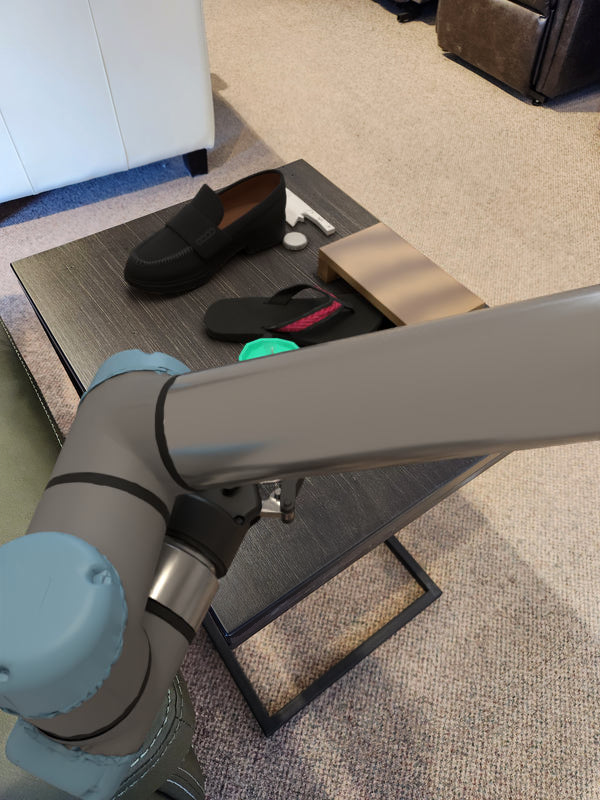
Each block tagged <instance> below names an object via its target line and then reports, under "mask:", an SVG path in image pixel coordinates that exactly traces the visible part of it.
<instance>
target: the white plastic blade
mask: <svg viewBox="0 0 600 800" xmlns="http://www.w3.org/2000/svg"><path fill="white" fill-rule="evenodd" d="M286 195H287V202H286V209H285V211H286V223H288V224H289V225H290V226H291V227H292V228H294V226H296V224H297V223H298V222H301V223H304V221H305V218H306V219H308V220H309V221H310V222H312V223H313V224H315V225H316V226H317V227H318V228H319V229H320V230H321V231H322V232H323V233H324V234H325V235H326V236H330V235H332V234H334V233H336V227H335V226H333V225H332V224H331V223H329V221H327V220H326V219H325V218H324V217H322V216H321V215H320V214H319V213H318V212H316V211H315V210H314V209H313V208H312V207H311V206H310V205H308V203H306V202H304V201H303V199H301V198H300V197H299V196H298V195H296V194H295V193H294V192H292V191H291V190H290V189H289V188H287V187H286Z"/></svg>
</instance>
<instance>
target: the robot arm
mask: <svg viewBox="0 0 600 800" xmlns="http://www.w3.org/2000/svg"><path fill="white" fill-rule="evenodd" d="M262 338H273V336H272V334H269V333H266V332H265V334H264V335H263V337H262ZM598 441H600V283H596V284H592V285H587V286H583V287H578V288H577V287H576V288H573V289H569V290H564V291H559V292H555V293H550V294H546V295H545V294H544V295H541V296H536V297H531V298H527V299H522V300H518V301H513V302H507V303H504V304H499V305H495V306H494V305H493V306H490V307H484V308H483V309H480V310H475V311H470V312H466V313H461V314H456V315H452V316H447V317H442V318H438V319H433V320H428V321H424V322H419V323H415V324H410V325H405V326H401V327H398V326H396V327H391V328H388V329H387V328H386V329H383V330H379V331H378V330H376V331H375V332H373V333H368V334H363V335H359V336H354V337H349V338H345V339H340V340H335V341H331V342H326V343H321V344H317V345H312V346H303V347H299V348H298V349H293V350H289V351H284V352H279V353H275V354H270V355H265V356H261V357H256V358H252V359H247V360H242V361H239V359H238V360H237V361H232V362H228V363H224V364H219V365H214V366H210V367H205V368H201V369H196V370H191V369H190V367H188V366H187V365H186V364H185V363H183V362H182V361H181V360H179V359H177V358H175V357H173V356H171V355H170V354H167V353H164V352H162V351H157V350H156V351H153V352H152V353H149V352H144V351H143V350H141V349H139V348H133V349H126V350H122V351H119V352H116V353H114V354H112V355H111V356H109V357H108V358H107V359H105V360H104V361H103V362H102V363H101V365H100V366H99V367H98V369H97V370H96V373H95V374H94V377H93V379H92V381H91V382H90V384H89V386H88V388H87V390H86V391H84V392H83V393H82V395H81V398H80V399H79V402H78V405H77V408H76V412H75V415H74V418H73V420H72V423H71V424H70V428H69V430H68V432H67V435H66V437H65V440H64V442H63V444H62V447H61V449H60V452H59V454H58V457H57V459H56V462H55V464H54V467H53V469H52V471H51V475H50V477H49V478H48V481H47V483H46V486H45V488H44V490H43V492H42V495H41V496H40V499H39V501H38V503H37V506H36V508H35V509H34V513H33V515H32V517H31V519H30V521H29V524H28V526H27V529H26V531H25V533H24V535H22V536H18V537H16V538H14V539H11V540H9V541H6V542H5V543H3V544H1V545H0V710H1V711H2V712H4V713H6V714H9V715H11V716H15V717H17V720H16V722H15V724H14V725H13V728H12V729H11V732H10V733H9V735H8V737H7V739H6V742H5V748H4V753H5V757H6V759H7V760H8V761H9V762H10V764H12V765H14V766H16V767H17V768H19V769H21V770H22V771H24V772H25V773H27V774H30V775H31V776H34V777H35V778H38V779H40V780H41V781H44V782H45V783H46V784H49V785H52V786H53V787H54V788H57V789H59V790H61V791H63V792H65V793H68V794H69V795H70V796H71V795H72V796H73V797H77V798H78V799H81V800H112V798H113V797H114V796H115V795H116V793H117V792H118V790H119V788H120V786H121V784H122V782H123V780H124V779H125V778H126V776H127V774H128V772H129V770H130V768H131V767H132V765H133V763H134V762H135V760H136V759H137V758H139V756H140V755H141V753H142V751H143V749H144V745H145V740H146V738H147V735H148V734H149V732H150V729H151V727H152V725H153V723H154V722H155V719H156V717H157V715H158V713H159V711H160V709H161V706H162V705H163V703H164V700H165V698H166V696H167V694H168V693H169V691H170V688H171V686H172V684H173V683H174V681H175V678H176V676H177V674H178V671H179V670H180V668H181V666H182V664H183V661H184V660H185V658H186V655H187V653H188V651H189V649H190V646H191V645H192V643H193V642H194V639H195V636H196V635H197V632H198V631H199V628H200V627H201V625H202V623H203V621H204V619H205V617H206V615H207V614H208V612H209V610H210V607H211V605H212V604H213V601H214V599H215V597H216V595H217V594H218V592H219V590H220V583H219V582H220V581H219V580H221V579H223V578H224V577H226V575H227V574H228V572H229V570H230V568H231V566H232V564H233V562H234V560H235V558H236V557H237V554H238V552H239V549H240V548H241V546H242V543H243V542H244V539H245V537H246V535H247V533H248V532H249V530H250V529H251V528H252V527H253V526H255V525H256V524H258V523H259V522H260V521H261V519H262V518H271V519H280V522H281V523H282V524H283V525H291V524H293V522H295V519H296V499H297V498H298V495H299V493H300V491H301V489H302V487H303V484H304V482H305V479H308V478H316V477H323V476H324V477H325V476H331V475H338V474H346V473H354V472H361V471H362V472H363V471H370V470H371V471H372V470H377V469H378V470H379V469H386V468H393V467H400V466H409V465H417V464H425V463H433V462H440V461H441V462H442V461H447V460H457V459H464V458H472V457H481V456H488V455H489V456H490V455H496V454H504V453H512V452H519V451H526V450H527V451H528V450H535V449H536V450H537V449H543V448H550V447H558V446H559V447H560V446H567V445H574V444H581V443H582V444H583V443H590V442H591V443H592V442H598ZM276 482H281V484H280V488H275V489H274V490H273V491H271V493H270V496H269V498H267V499H264V500H262V496H261V491H260V488H259V486H260V484H267V483H276Z"/></svg>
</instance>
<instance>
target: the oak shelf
mask: <svg viewBox="0 0 600 800" xmlns="http://www.w3.org/2000/svg"><path fill="white" fill-rule="evenodd" d="M317 276H318V277H319V278H320V279H321V280H322V281H323V282H324V283H326V284H328V283H331V282H332V281H335V280H338V279H339V278H342V279H343V280H344V281H346V282H347V283H348V284H349V285H350V286H351V287H353V288H354V289H355V290H356V291H357V292H358V294H362V295H363V296H364V297H365V298H366V299H367V300H368V301H370V302H371V303H372V304H373V305H374V306H375V307H376V308H378V309H379V310H380V311H381V312H382V313H383V314H384V317H387V319H388V320H390V322H392V323H393V324H394V325H395V326H396V327H401V326H405V325H410V324H415V323H419V322H424V321H428V320H433V319H438V318H442V317H447V316H452V315H456V314H461V313H466V312H470V311H475V310H480V309H484V308H485V305H486V301H485V300H483V299H482V298H481V297H480V296H478V294H475V292H473V291H472V290H471V289H469V288H468V287H467V286H466V285H464V284H463V283H461V282H460V281H459V280H458V279H456V278H455V277H453V275H451V274H450V273H448V272H447V271H446V270H445V269H443V268H442V267H441V266H439V265H438V264H437V263H436V262H434V261H432V259H430V258H428V256H426V255H425V254H423V253H422V251H420V250H419V249H417V248H415V247H414V246H413V245H412V244H411V243H409V242H408V241H407V240H405V239H404V238H403V237H402V236H400V235H399V234H398V233H396V232H395V231H394V230H392V228H390V227H388V226H387V225H386V224H385V223H383V222H382V221H381V222H380V221H379V222H377V223H375V224H373V225H371V226H369V227H366V228H363V229H361V230H359V231H356V232H354V233H351V234H349V235H347V236H345V237H342V238H340V239H338V240H335V241H333V242H330V243H328V244H325V245H324V246H321V247H319V248H318V259H317Z"/></svg>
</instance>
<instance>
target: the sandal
mask: <svg viewBox="0 0 600 800" xmlns="http://www.w3.org/2000/svg"><path fill="white" fill-rule="evenodd" d="M308 289H312V290H314V291H316V292H318V293H321V294H323V295H324V296H319V297H295V296H296V295H297V294H299V293H300V292H302V291H304V290H308ZM384 317H385V315H384V314H383V313H382V312H381V311H380V310H379V309H378V308H376V307H375V306H374V305H373V304H372V303H371V302H370V301H368V300H367V299H366V298H365V297H364V296H363V295H362V294H361V293H344V294H343V293H342V294H334V295H333V293H330V292H328V291H326V290H324V289H322V288H320V287H318V286H315V285H312V284H310V283H305V282H304V283H303V282H302V283H301V282H300V283H296V284H293V285H290V286H287V287H284V288H281V289H279V290H278V291H276V292H275V293H273V294H272V295H271V296H243V297H228V298H220V299H218V300H216V301H213V302H212V303H211V304H210V305H209V306H208V307H207V309H206V311H205V315H204V324H205V327H206V328H205V329H206V331H207V332H208V335H210V336H211V337H212V338H213V339H215V340H219V341H225V342H252V341H255V340H258V339H260V338H262V337H263V335H264V334H265V332H266V333H269V334H272V336H273V338H278V339H283V340H287V341H291V342H294V343H295V344H296V345H297V346H298V345H299V346H303V347H307V346H312V345H317V344H321V343H326V342H331V341H335V340H340V339H345V338H349V337H354V336H359V335H363V334H368V333H373V332H377V331H378V329H379V328H380V326H381V324H382V322H383V321H384Z"/></svg>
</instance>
